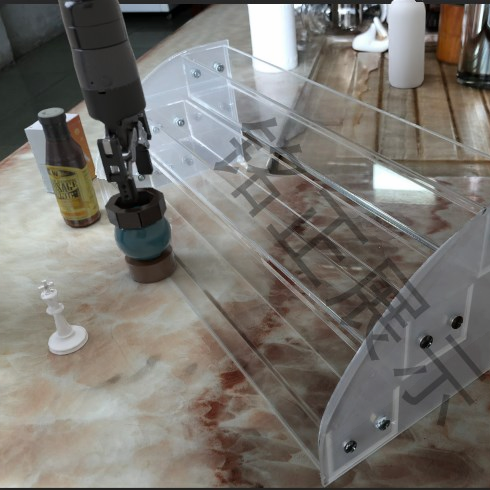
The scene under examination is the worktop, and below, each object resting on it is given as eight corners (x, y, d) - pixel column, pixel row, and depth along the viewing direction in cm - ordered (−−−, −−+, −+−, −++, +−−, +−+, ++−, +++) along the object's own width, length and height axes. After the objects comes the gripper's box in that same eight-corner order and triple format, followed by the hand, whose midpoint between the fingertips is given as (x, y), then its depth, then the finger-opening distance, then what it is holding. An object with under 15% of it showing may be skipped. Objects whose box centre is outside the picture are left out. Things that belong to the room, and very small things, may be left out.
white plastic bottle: (387, 78, 155) (387, -49, 138) (421, 76, 154) (425, -52, 137) (389, 90, 147) (388, -43, 130) (425, 88, 147) (429, -46, 130)
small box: (74, 195, 112) (52, 130, 105) (46, 192, 114) (22, 129, 106) (98, 175, 118) (79, 113, 111) (71, 173, 120) (50, 112, 113)
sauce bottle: (57, 227, 103) (16, 118, 91) (79, 208, 107) (43, 103, 96) (89, 231, 101) (51, 120, 90) (110, 212, 106) (77, 105, 94)
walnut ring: (104, 230, 82) (99, 214, 81) (119, 203, 88) (115, 188, 87) (158, 227, 82) (154, 211, 80) (170, 201, 88) (166, 185, 87)
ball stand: (119, 286, 87) (100, 226, 81) (134, 255, 94) (116, 197, 88) (173, 283, 87) (157, 223, 81) (184, 252, 93) (170, 194, 88)
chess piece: (43, 341, 78) (16, 281, 73) (80, 323, 81) (56, 264, 75) (56, 360, 75) (29, 299, 69) (94, 341, 77) (70, 281, 72)
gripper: (97, 62, 83) (127, 166, 92) (60, 98, 71) (98, 214, 80) (151, 58, 83) (175, 164, 92) (122, 94, 71) (153, 211, 80)
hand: (139, 187), depth 86 cm, fingers open, 8 cm apart
